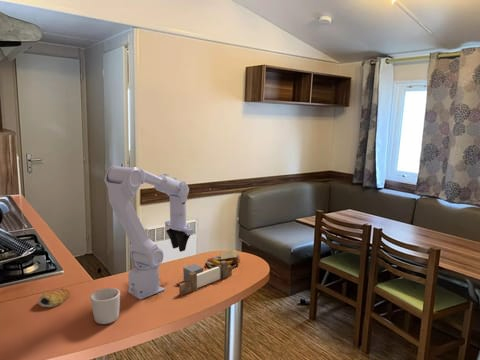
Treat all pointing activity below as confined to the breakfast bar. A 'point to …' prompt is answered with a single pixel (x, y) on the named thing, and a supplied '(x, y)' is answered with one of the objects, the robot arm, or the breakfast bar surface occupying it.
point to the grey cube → (191, 270)
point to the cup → (105, 305)
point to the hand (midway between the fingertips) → (178, 249)
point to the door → (208, 276)
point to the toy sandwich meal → (227, 256)
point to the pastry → (54, 297)
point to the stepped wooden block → (192, 278)
